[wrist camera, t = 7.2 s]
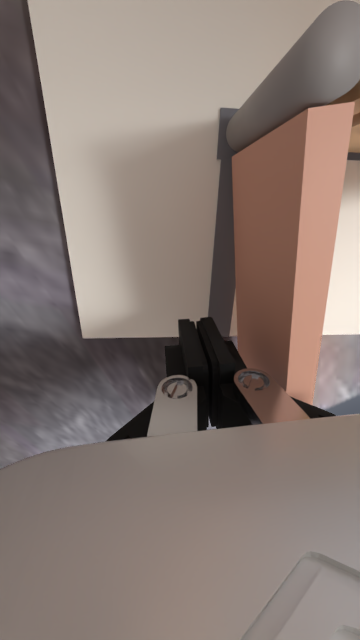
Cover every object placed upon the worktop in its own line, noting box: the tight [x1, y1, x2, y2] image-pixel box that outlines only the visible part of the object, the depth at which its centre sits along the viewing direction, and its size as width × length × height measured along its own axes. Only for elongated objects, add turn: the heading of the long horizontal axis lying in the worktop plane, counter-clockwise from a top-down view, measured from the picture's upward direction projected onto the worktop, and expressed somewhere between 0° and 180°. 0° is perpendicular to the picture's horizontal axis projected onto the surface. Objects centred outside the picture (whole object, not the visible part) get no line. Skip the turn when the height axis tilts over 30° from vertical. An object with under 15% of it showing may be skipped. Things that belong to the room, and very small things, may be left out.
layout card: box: [28, 0, 360, 338], centre depth 12 cm, size 20×16×1 cm
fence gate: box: [226, 0, 360, 405], centre depth 10 cm, size 14×2×6 cm, turn 7°
